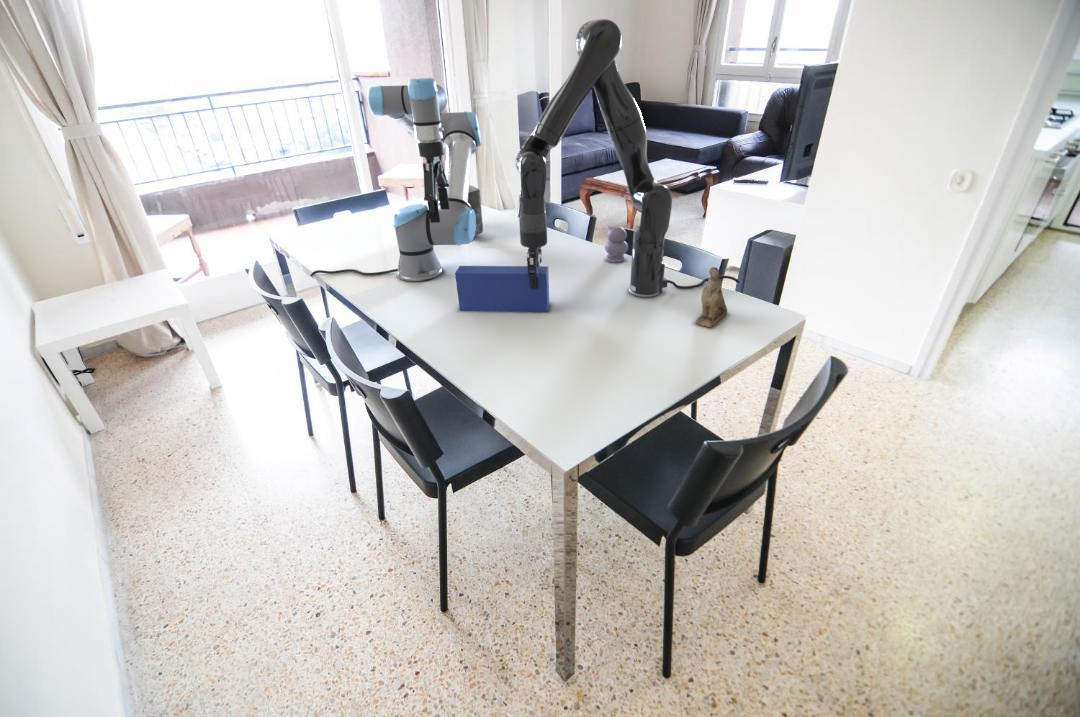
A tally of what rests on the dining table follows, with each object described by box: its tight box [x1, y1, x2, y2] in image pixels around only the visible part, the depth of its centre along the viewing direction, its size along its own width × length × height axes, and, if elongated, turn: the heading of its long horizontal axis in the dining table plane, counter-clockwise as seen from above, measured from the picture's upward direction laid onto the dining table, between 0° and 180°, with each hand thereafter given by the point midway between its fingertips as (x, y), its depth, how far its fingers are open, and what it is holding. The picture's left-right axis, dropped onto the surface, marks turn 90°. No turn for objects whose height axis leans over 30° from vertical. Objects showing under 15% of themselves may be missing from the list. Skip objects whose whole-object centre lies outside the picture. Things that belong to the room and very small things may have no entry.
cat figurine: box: [604, 225, 629, 264], centre depth 178 cm, size 9×8×12 cm
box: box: [454, 265, 550, 313], centre depth 147 cm, size 27×6×12 cm, turn 84°
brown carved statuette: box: [695, 266, 728, 328], centre depth 135 cm, size 12×6×18 cm, turn 136°
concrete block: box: [436, 182, 484, 237], centre depth 209 cm, size 27×9×20 cm, turn 36°
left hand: (440, 215), depth 152 cm, fingers open, 13 cm apart
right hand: (535, 283), depth 145 cm, fingers open, 6 cm apart
